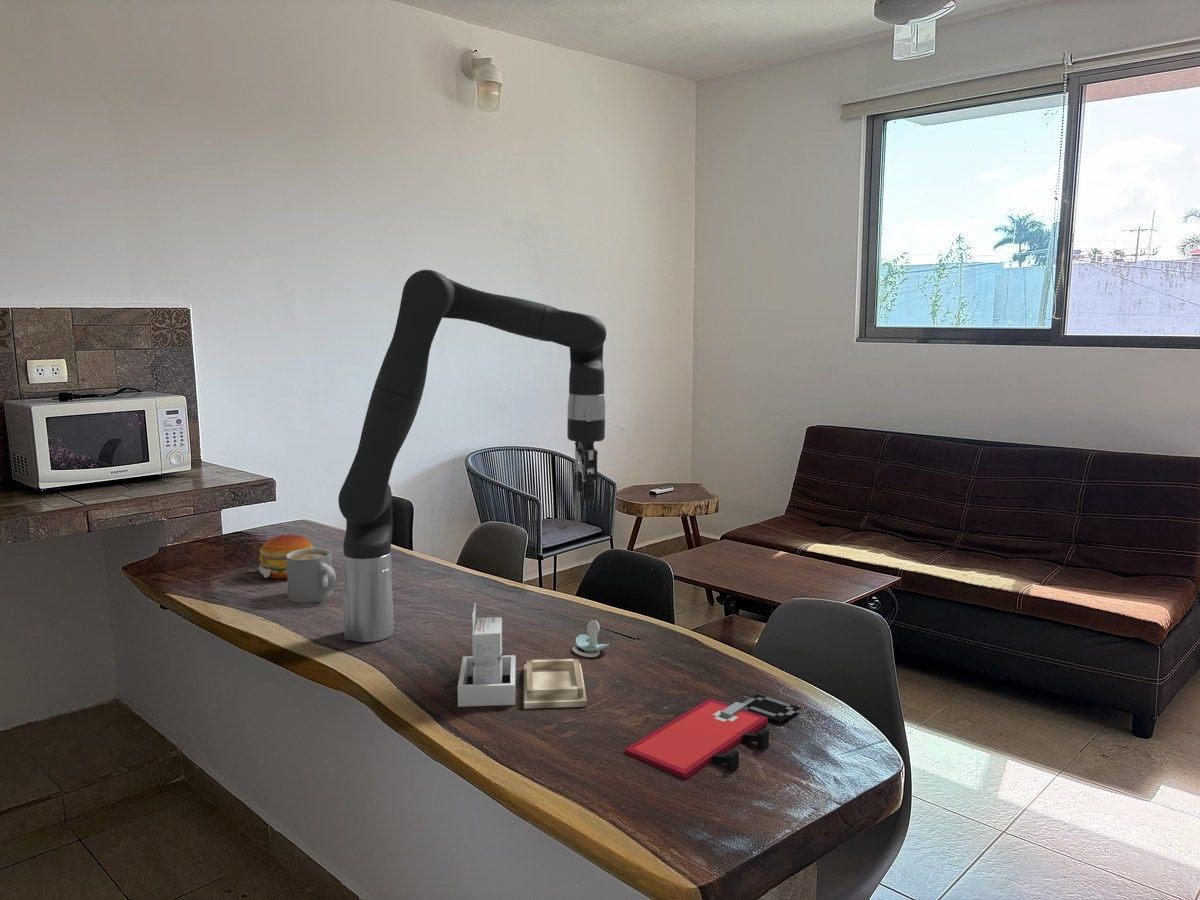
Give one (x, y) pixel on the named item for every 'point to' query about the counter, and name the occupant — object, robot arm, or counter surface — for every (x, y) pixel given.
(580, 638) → the pacifier
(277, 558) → the burger
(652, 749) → the red board with handle
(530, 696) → the tray
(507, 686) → the box
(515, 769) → the counter surface
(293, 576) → the coffee mug
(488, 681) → the ink box
